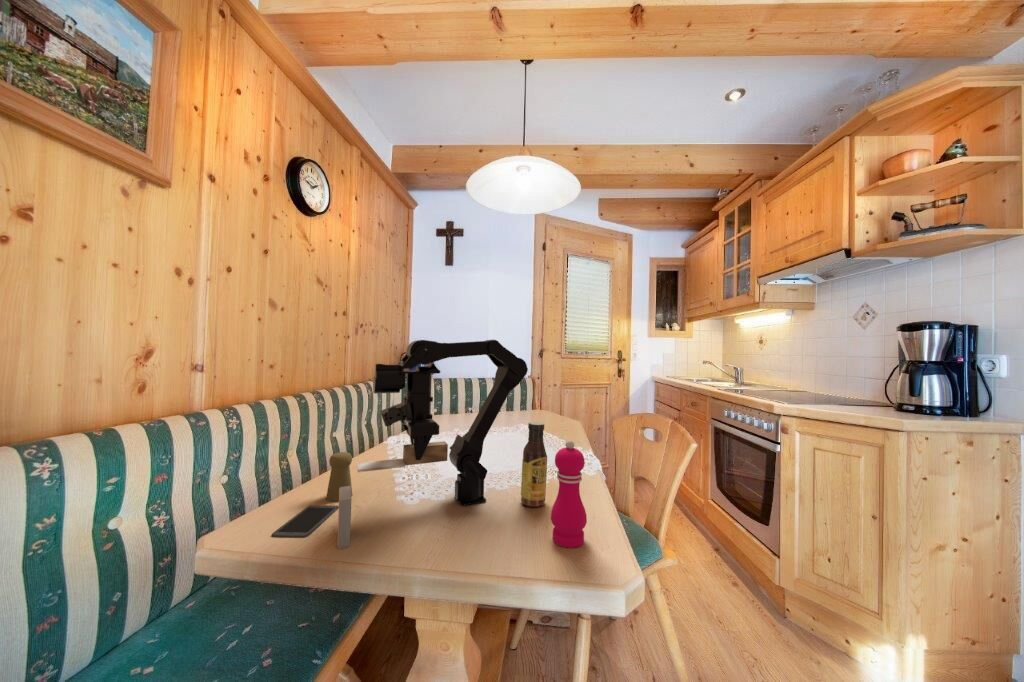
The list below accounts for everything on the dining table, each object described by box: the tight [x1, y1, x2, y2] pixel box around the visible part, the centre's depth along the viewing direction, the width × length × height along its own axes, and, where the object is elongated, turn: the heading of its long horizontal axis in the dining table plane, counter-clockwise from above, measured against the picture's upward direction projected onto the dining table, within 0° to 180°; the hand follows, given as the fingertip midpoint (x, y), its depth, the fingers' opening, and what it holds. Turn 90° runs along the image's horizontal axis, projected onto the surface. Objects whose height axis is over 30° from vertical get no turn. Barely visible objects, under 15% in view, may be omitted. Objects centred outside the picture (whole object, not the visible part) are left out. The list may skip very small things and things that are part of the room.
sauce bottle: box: [520, 421, 548, 508], centre depth 89 cm, size 7×6×20 cm
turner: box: [356, 440, 449, 473], centre depth 83 cm, size 20×5×4 cm, turn 115°
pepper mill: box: [550, 439, 588, 549], centre depth 72 cm, size 7×7×20 cm
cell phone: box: [271, 504, 339, 539], centre depth 77 cm, size 7×14×1 cm, turn 0°
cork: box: [325, 451, 353, 503], centre depth 89 cm, size 6×6×11 cm
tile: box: [336, 485, 353, 549], centre depth 70 cm, size 2×7×9 cm, turn 26°
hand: (417, 457), depth 84 cm, fingers closed on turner, 3 cm apart
